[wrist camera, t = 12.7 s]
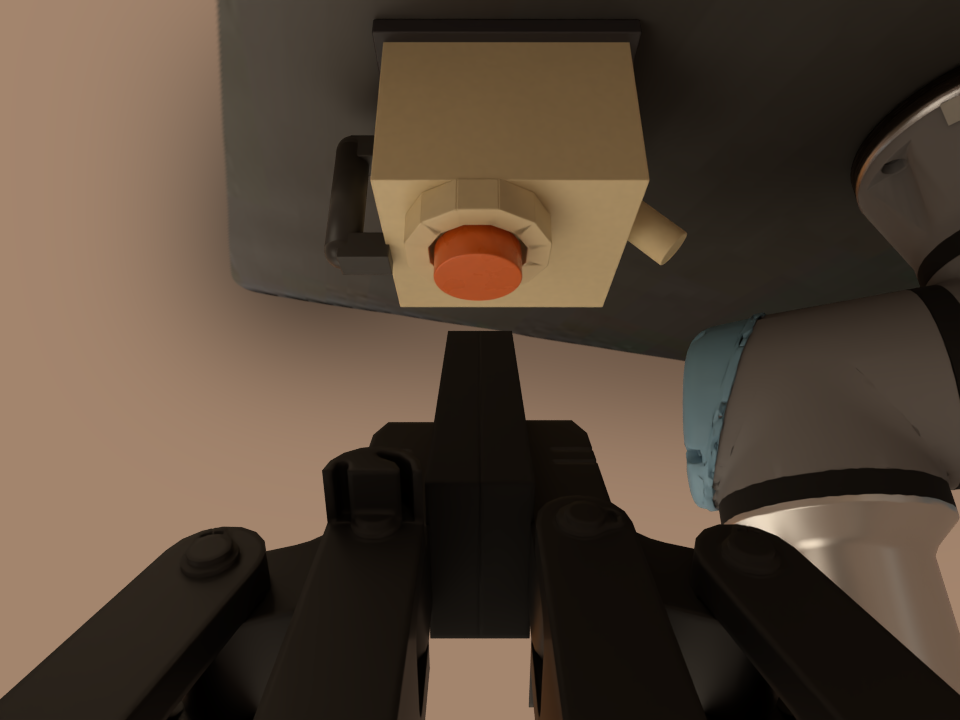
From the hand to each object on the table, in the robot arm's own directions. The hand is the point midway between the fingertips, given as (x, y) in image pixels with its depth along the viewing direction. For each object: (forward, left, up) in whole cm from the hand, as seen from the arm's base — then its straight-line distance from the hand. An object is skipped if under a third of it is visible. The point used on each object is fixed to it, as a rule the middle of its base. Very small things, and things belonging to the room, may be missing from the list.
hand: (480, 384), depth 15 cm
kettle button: (-9, +9, -12) cm, 17 cm away
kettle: (-12, +10, -24) cm, 28 cm away
